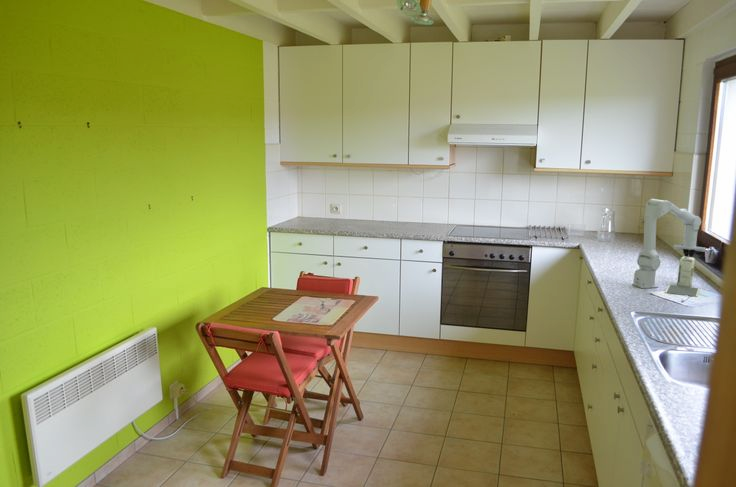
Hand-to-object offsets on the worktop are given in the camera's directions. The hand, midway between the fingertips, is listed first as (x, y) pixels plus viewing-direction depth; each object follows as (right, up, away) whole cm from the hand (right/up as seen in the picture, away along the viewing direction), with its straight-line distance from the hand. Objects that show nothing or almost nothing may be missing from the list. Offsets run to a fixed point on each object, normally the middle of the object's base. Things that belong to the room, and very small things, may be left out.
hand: (687, 263), depth 306 cm
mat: (-12, -13, -17) cm, 24 cm away
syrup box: (-5, -11, -6) cm, 14 cm away
